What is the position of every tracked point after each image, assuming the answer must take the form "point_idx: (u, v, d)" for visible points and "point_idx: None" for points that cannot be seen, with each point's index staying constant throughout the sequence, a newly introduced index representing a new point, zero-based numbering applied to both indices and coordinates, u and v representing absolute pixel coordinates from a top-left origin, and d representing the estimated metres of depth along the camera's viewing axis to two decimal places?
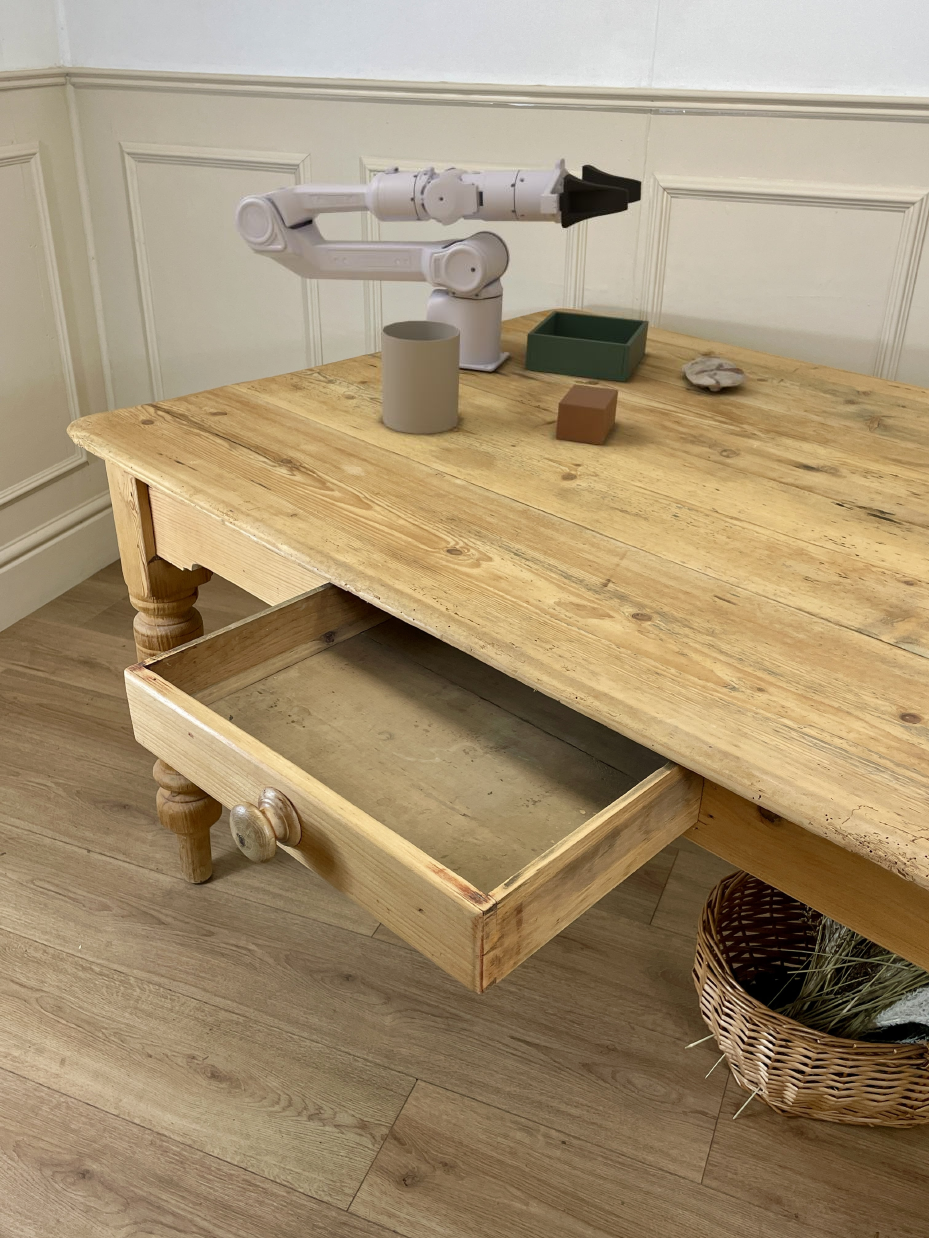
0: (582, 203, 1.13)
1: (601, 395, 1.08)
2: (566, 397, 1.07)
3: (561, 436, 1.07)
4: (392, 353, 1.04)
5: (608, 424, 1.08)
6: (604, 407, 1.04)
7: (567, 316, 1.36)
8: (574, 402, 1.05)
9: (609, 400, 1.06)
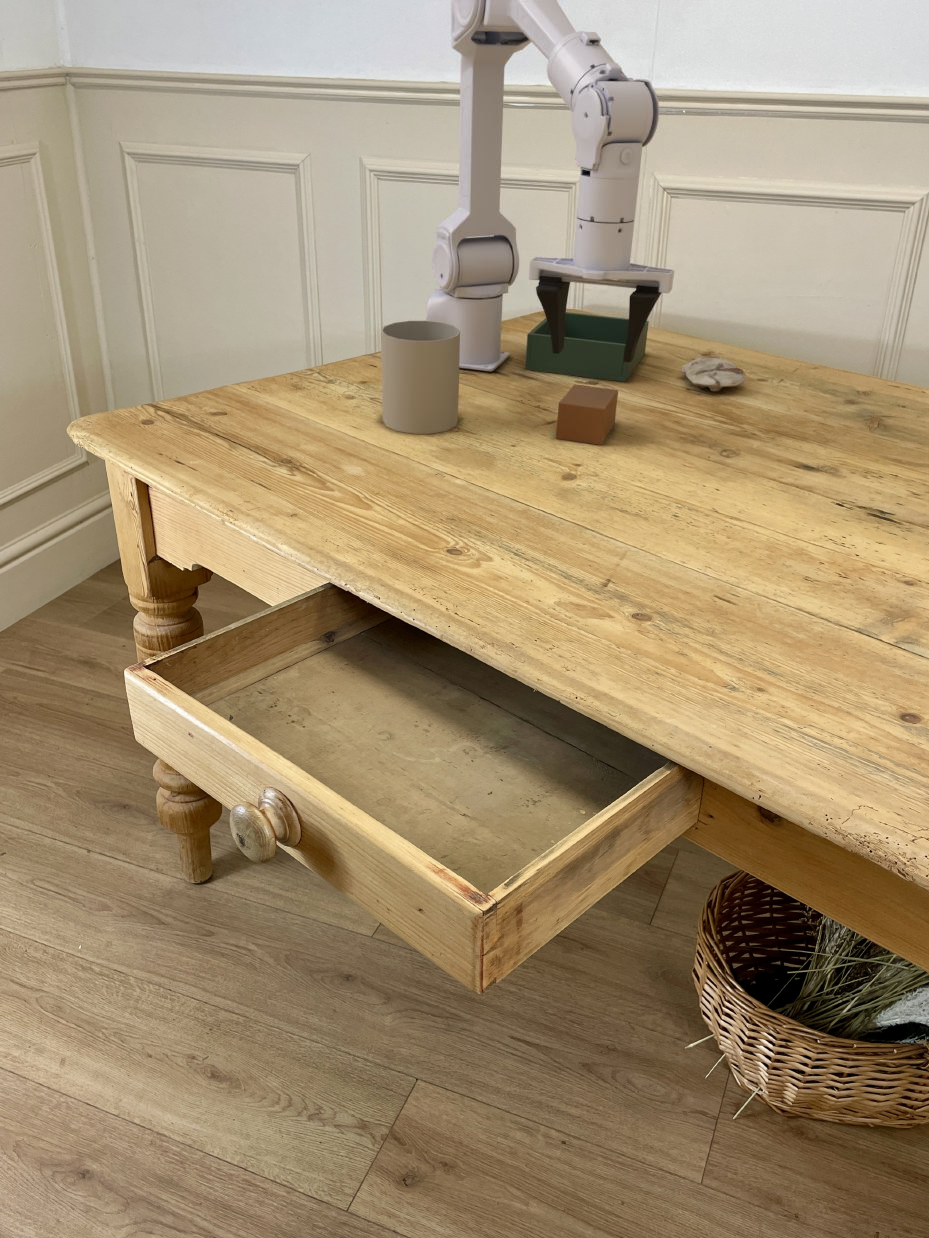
0: None
1: (601, 395, 1.08)
2: (566, 397, 1.07)
3: (561, 436, 1.07)
4: (392, 353, 1.04)
5: (608, 424, 1.08)
6: (604, 407, 1.04)
7: (567, 316, 1.36)
8: (574, 402, 1.05)
9: (609, 400, 1.06)
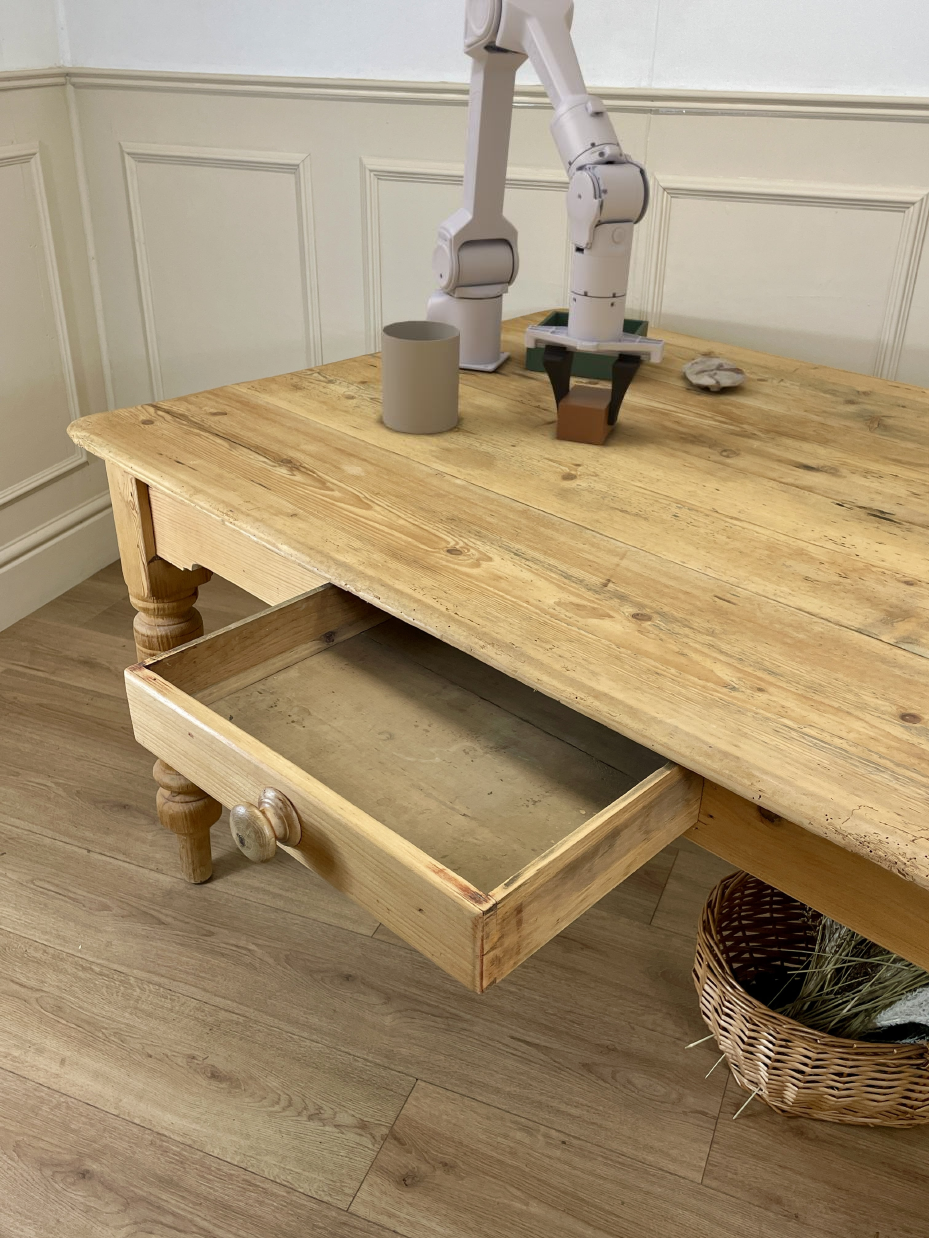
0: None
1: (601, 395, 1.08)
2: (566, 397, 1.07)
3: (561, 436, 1.07)
4: (392, 353, 1.04)
5: None
6: (604, 407, 1.04)
7: (567, 316, 1.36)
8: (574, 403, 1.05)
9: (609, 400, 1.06)
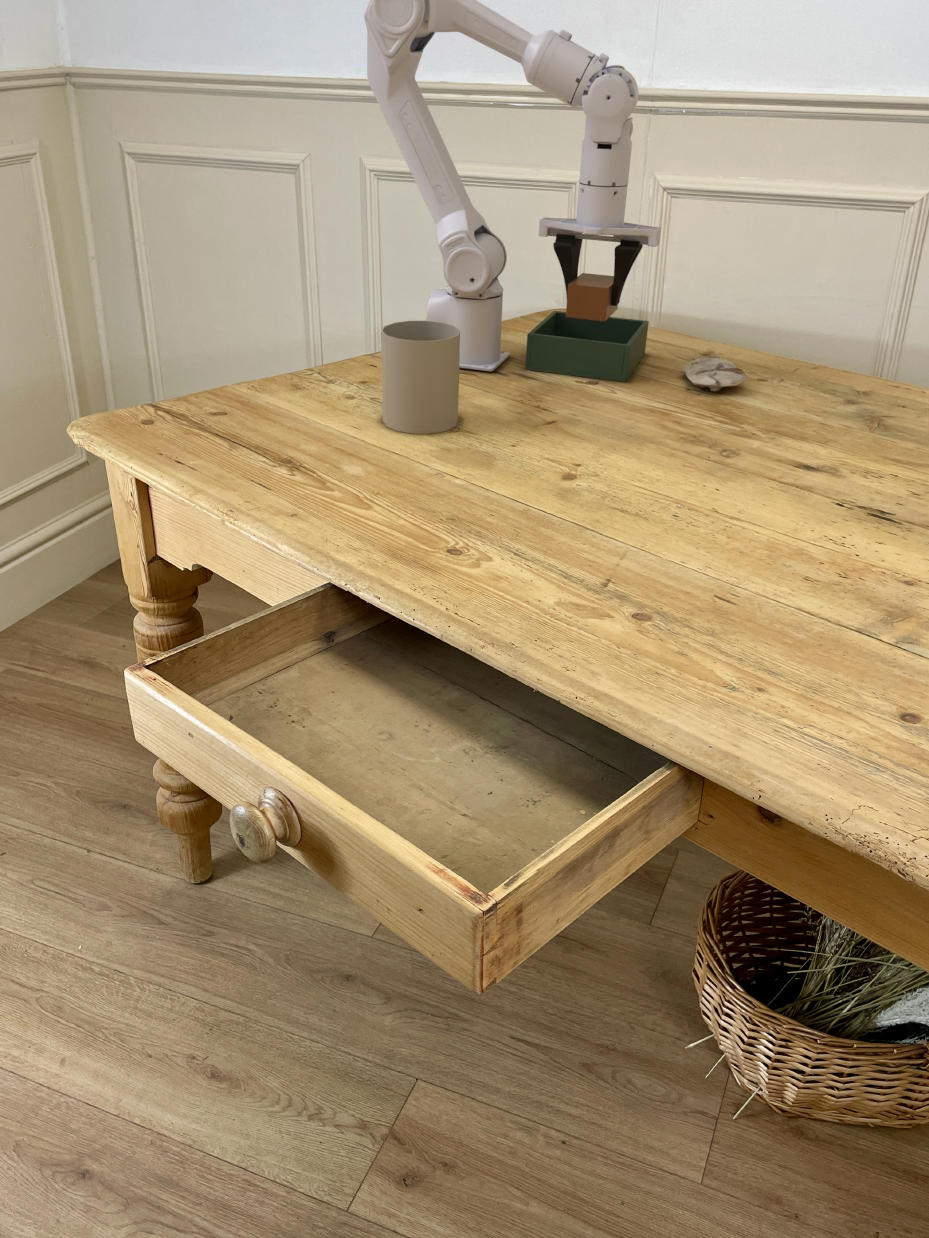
0: None
1: (606, 280, 1.23)
2: (575, 280, 1.22)
3: (570, 315, 1.22)
4: (392, 353, 1.04)
5: None
6: (608, 287, 1.19)
7: None
8: (581, 284, 1.20)
9: (612, 283, 1.21)
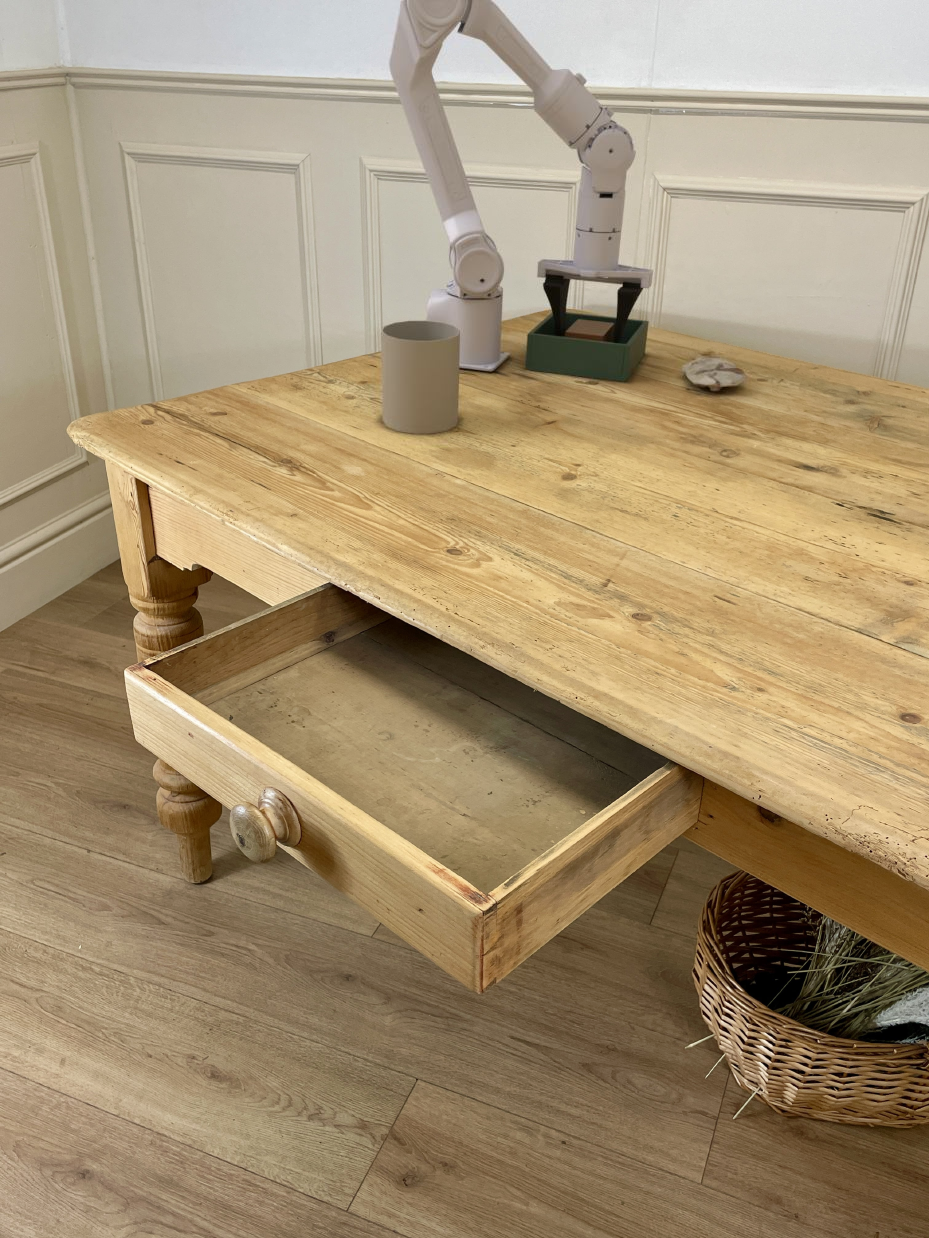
0: None
1: (600, 327, 1.30)
2: (571, 328, 1.29)
3: None
4: (392, 353, 1.04)
5: None
6: (602, 334, 1.27)
7: (567, 316, 1.36)
8: (577, 331, 1.28)
9: (607, 330, 1.29)
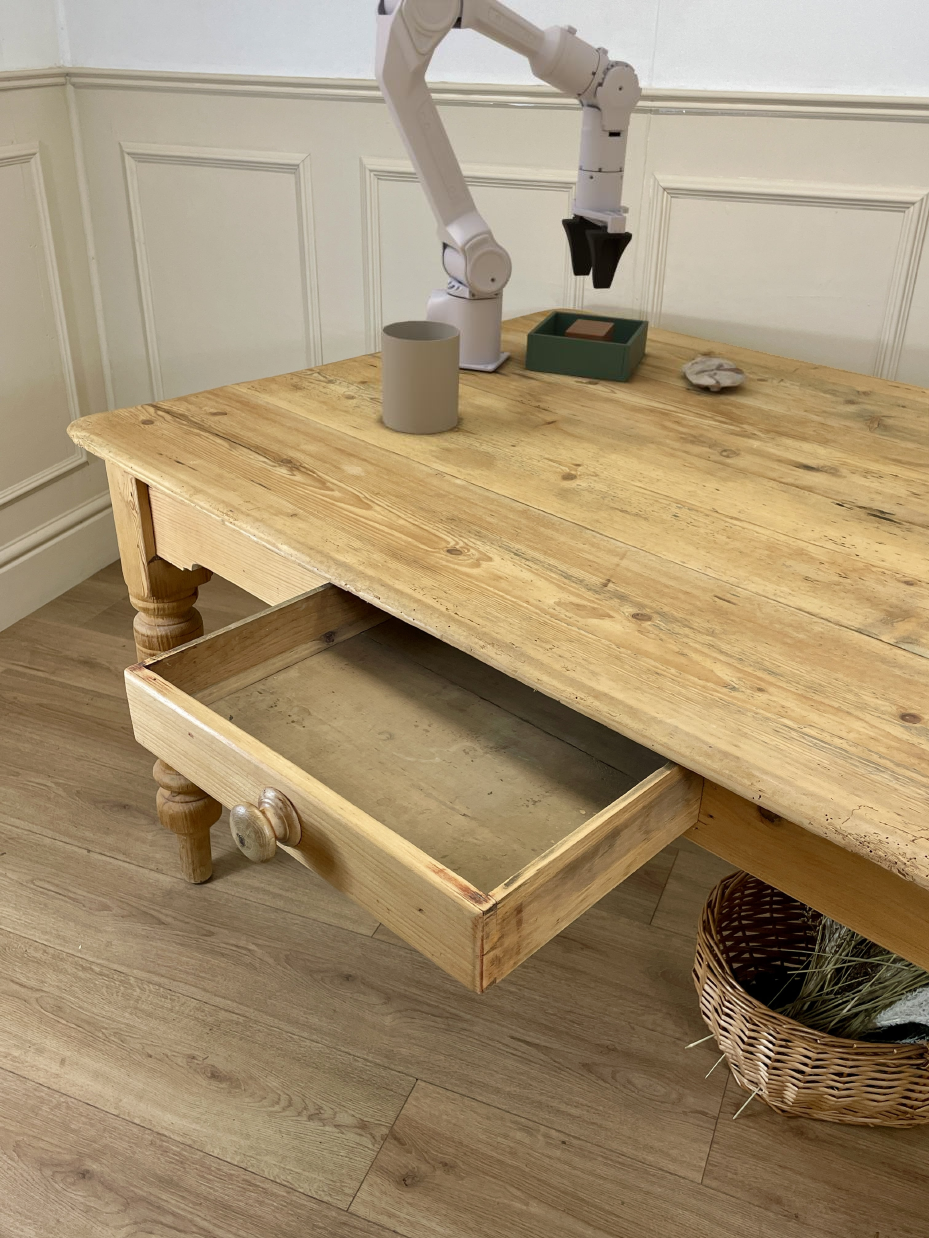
0: (605, 247, 1.25)
1: (600, 327, 1.30)
2: (571, 328, 1.29)
3: None
4: (392, 353, 1.04)
5: None
6: (602, 334, 1.27)
7: (567, 316, 1.36)
8: (577, 331, 1.28)
9: (607, 330, 1.29)
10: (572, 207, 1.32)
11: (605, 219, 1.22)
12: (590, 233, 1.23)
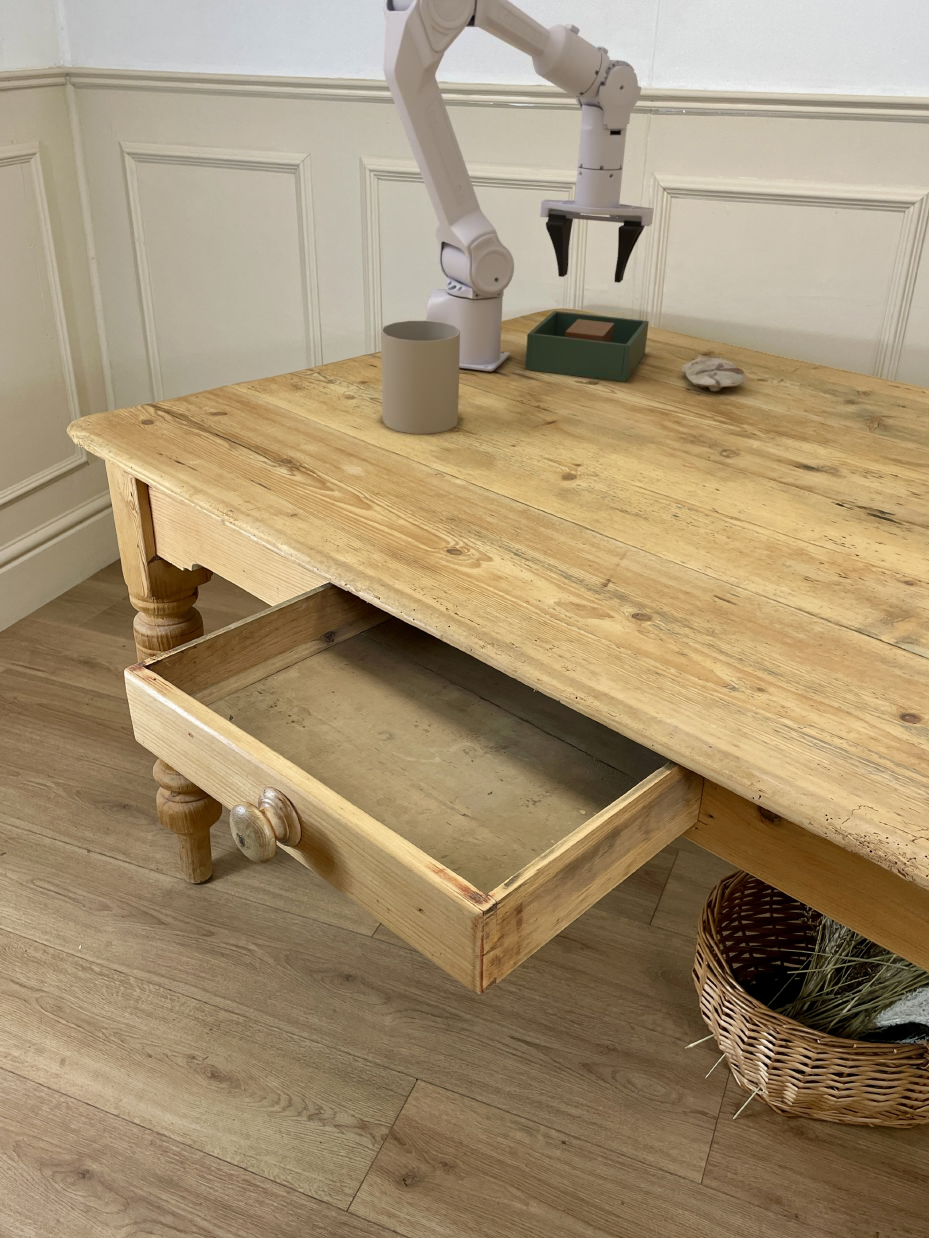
0: None
1: (600, 327, 1.30)
2: (571, 328, 1.29)
3: None
4: (392, 353, 1.04)
5: None
6: (602, 334, 1.27)
7: (567, 316, 1.36)
8: (577, 331, 1.28)
9: (607, 330, 1.29)
10: (545, 209, 1.30)
11: (639, 214, 1.26)
12: (630, 229, 1.26)
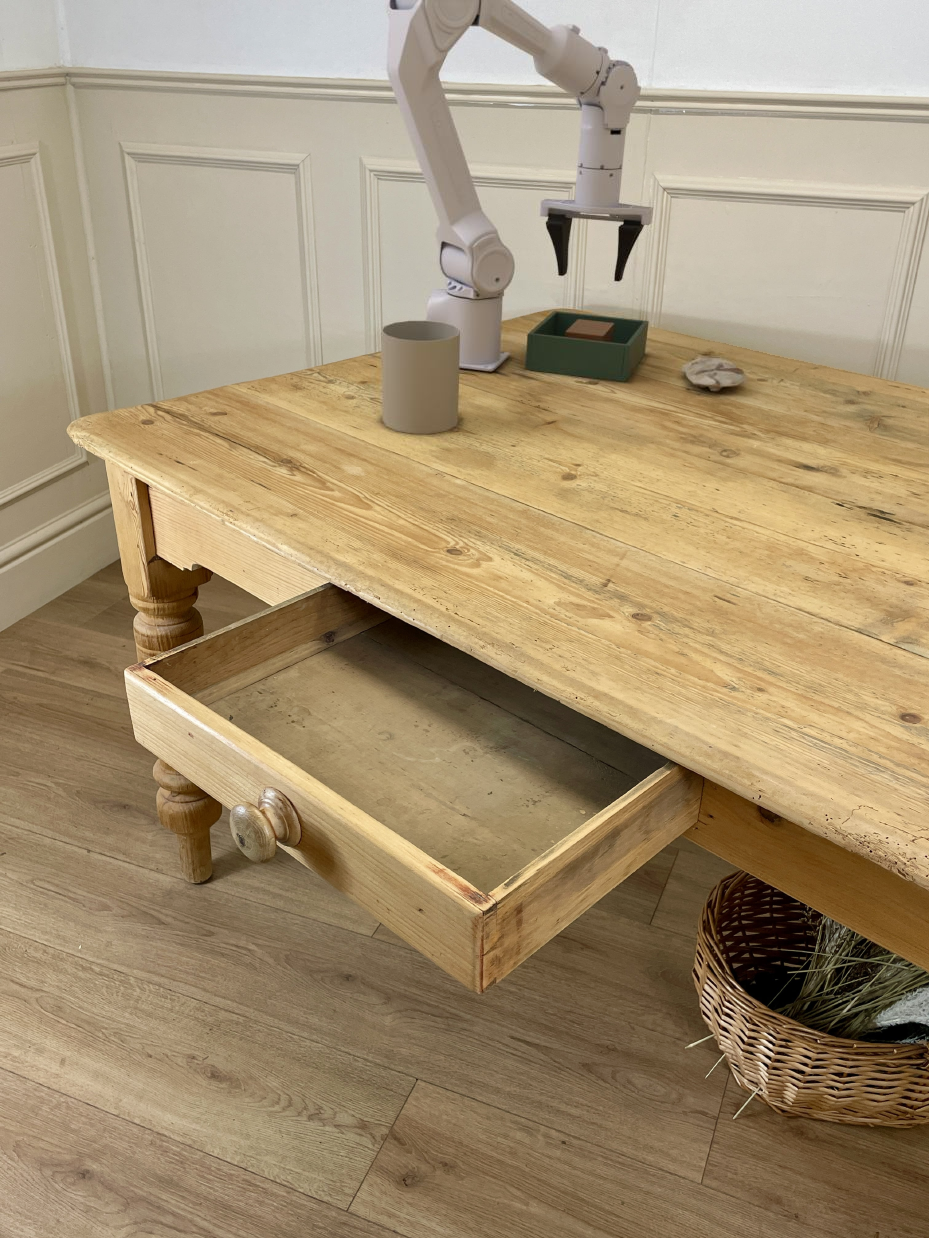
0: None
1: (600, 327, 1.30)
2: (571, 328, 1.29)
3: None
4: (392, 353, 1.04)
5: None
6: (602, 334, 1.27)
7: (567, 316, 1.36)
8: (577, 331, 1.28)
9: (607, 330, 1.29)
10: (545, 209, 1.30)
11: (638, 213, 1.27)
12: (630, 228, 1.26)
